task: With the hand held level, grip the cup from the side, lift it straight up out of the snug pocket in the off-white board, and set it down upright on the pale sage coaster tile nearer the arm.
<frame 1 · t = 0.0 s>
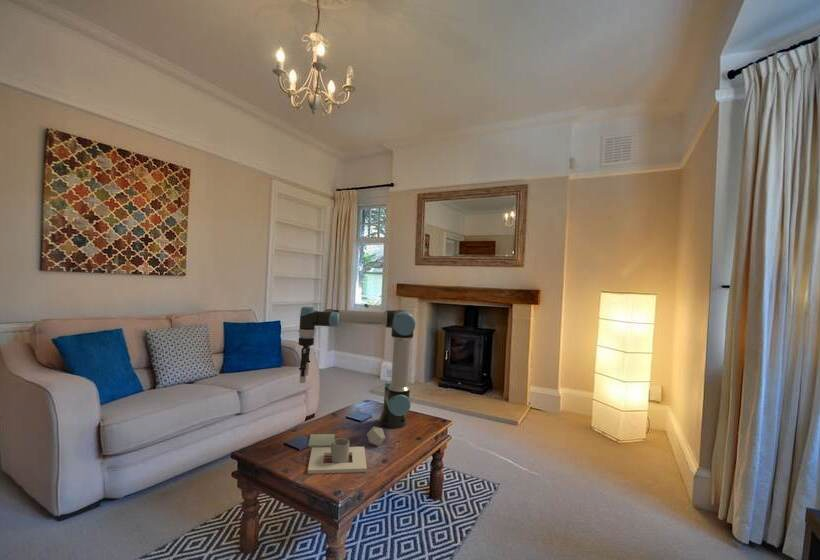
hand: (303, 378, 186), 28 cm above the table, tool pointing down, fingers open, 13 cm apart
cup: (337, 461, 161), resting in cup holder
coaster: (321, 441, 179), on the table
die: (375, 444, 180), on the table
cup holder: (337, 460, 161), on the table
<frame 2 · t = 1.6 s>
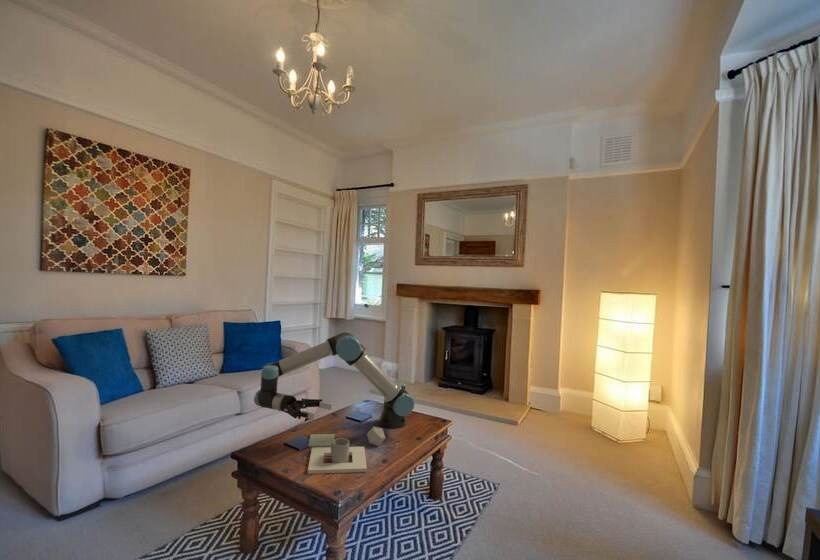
hand: (323, 411, 164), 20 cm above the table, tool horizontal, fingers open, 13 cm apart
nothing on the table moved.
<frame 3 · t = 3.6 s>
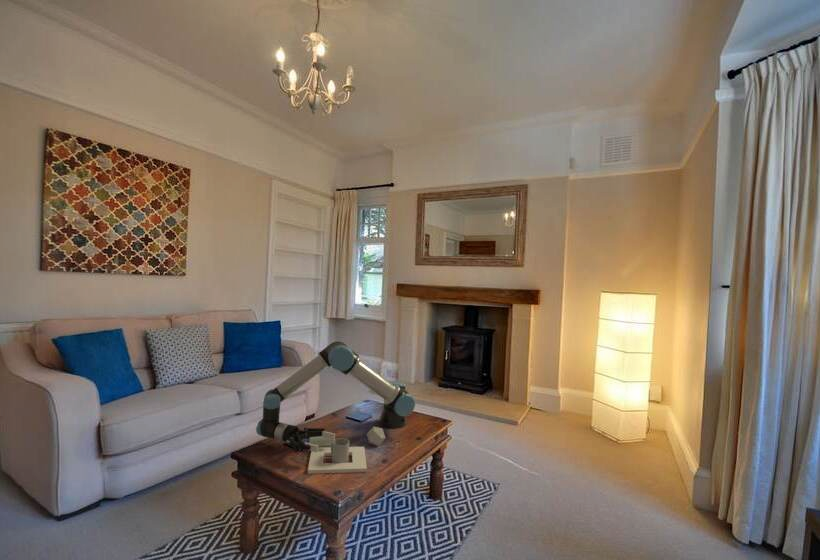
hand: (326, 442, 163), 7 cm above the table, tool horizontal, fingers open, 13 cm apart
nothing on the table moved.
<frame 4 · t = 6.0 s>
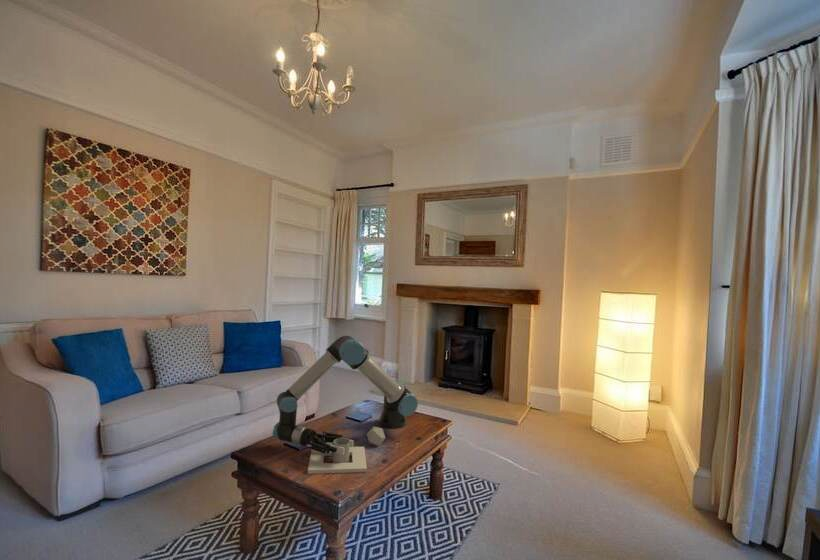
hand: (348, 447, 159), 7 cm above the table, tool horizontal, fingers closed on cup, 7 cm apart
cup: (338, 461, 161), resting in cup holder, touching gripper
everything else where it was.
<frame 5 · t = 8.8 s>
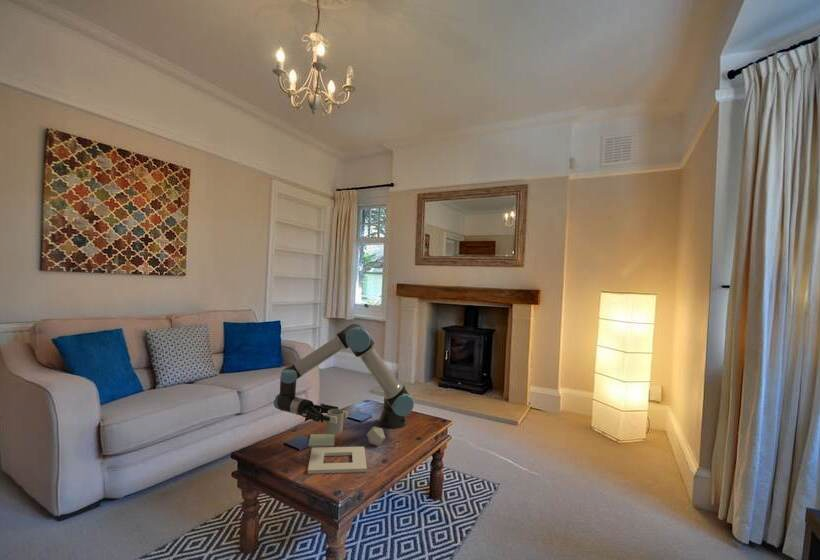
hand: (341, 417, 164), 18 cm above the table, tool horizontal, fingers closed on cup, 7 cm apart
cup: (332, 430, 166), point 11 cm above the table, touching gripper
everything else where it was.
when the fingers open (9 cm above the table, at t = 11.9 s): cup drops 1 cm, resting on coaster.
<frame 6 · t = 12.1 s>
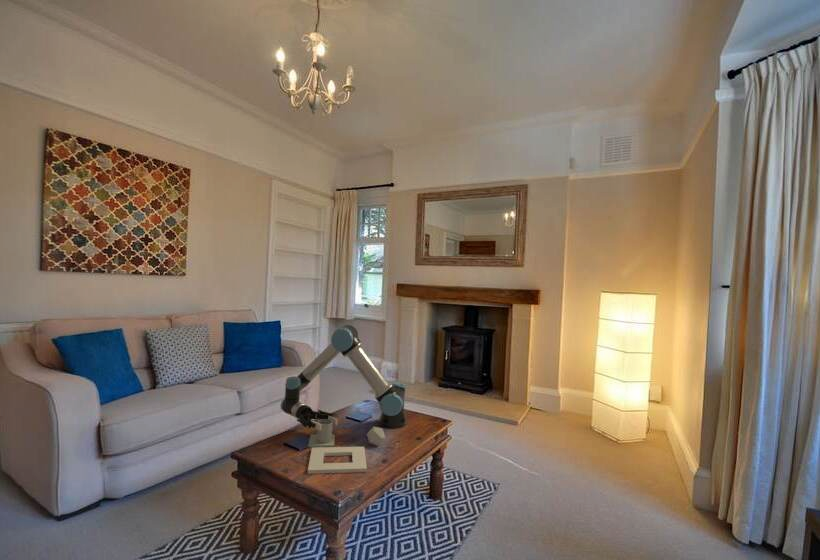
hand: (328, 424, 176), 9 cm above the table, tool horizontal, fingers open, 9 cm apart
cup: (322, 439, 179), point 1 cm above the table, touching coaster
everything else where it was.
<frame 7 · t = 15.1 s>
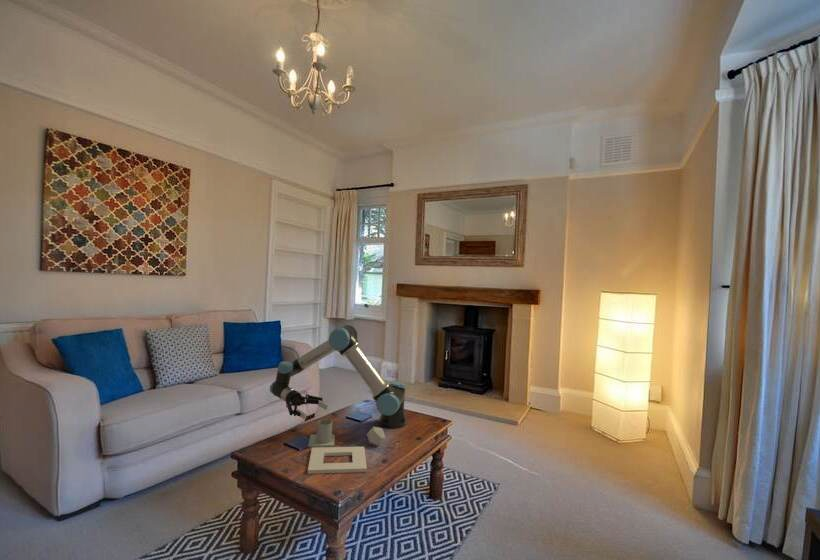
hand: (316, 412, 186), 12 cm above the table, tool horizontal, fingers open, 13 cm apart
nothing on the table moved.
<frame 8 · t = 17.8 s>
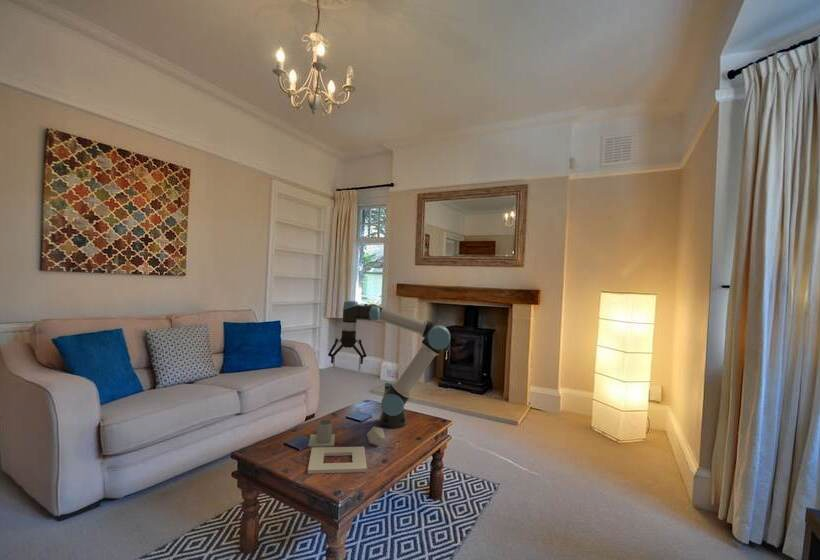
hand: (346, 369, 195), 32 cm above the table, tool pointing down, fingers open, 13 cm apart
nothing on the table moved.
at the end: cup inside the target area on the coaster (0.4 cm from its centre), point 0.6 cm above the coaster's base; cup tilted 0°; the gripper is holding nothing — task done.
